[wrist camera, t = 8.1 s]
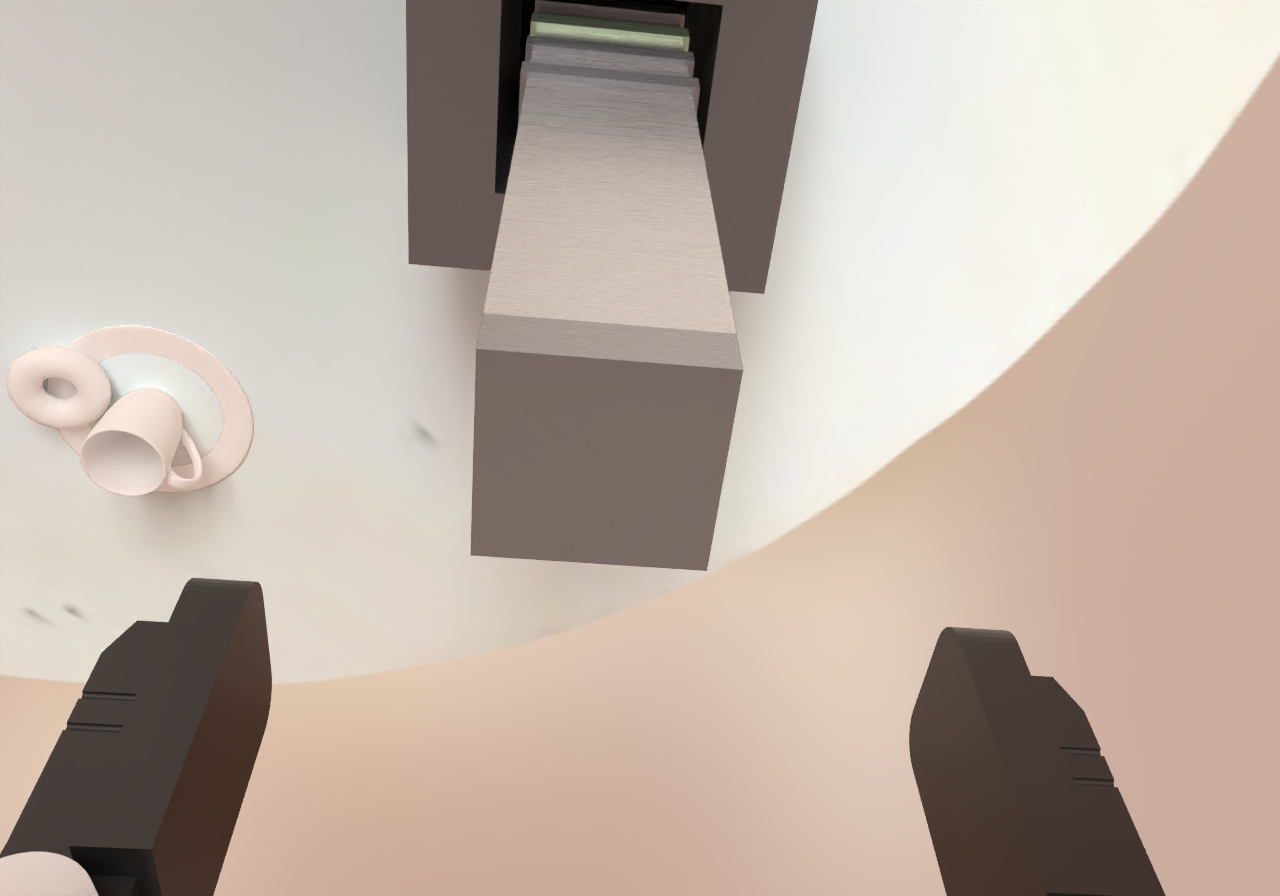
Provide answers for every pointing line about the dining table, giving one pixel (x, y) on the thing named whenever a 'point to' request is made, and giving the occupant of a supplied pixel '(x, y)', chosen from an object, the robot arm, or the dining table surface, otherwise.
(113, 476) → the teacup and saucer
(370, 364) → the dining table surface
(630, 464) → the column
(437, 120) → the housing
